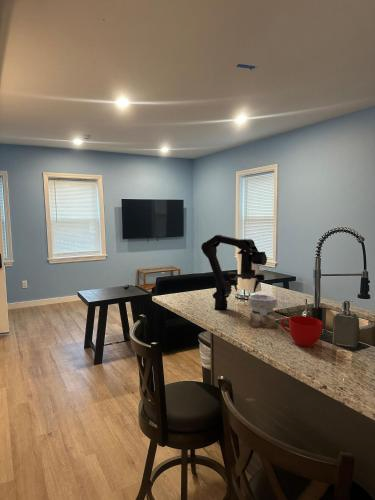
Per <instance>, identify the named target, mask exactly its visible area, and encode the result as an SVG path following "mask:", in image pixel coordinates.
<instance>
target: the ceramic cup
mask: <svg viewBox="0 0 375 500" xmlns="http://www.w3.org/2000/svg"><path fill="white" fill-rule="evenodd" d="M284 321H286V322H287V323H288V325H289V328H287V327H286V326H285V324H284ZM280 324H281V327H282V329H284V331H286V332H288V333H289V334H290V336H291V338H292V340H293V341H294V343H295V345H297V346H299V345H300V346H299V347H302V346H304V347H303V348H311V347H310V346H312V347H313V346H314V345H316V343H317V342H318V341H319V340H320V338H321V335H322V332H323V325H324V324H323V321H322V320H320V319H318V318H315V317H311V316H306V315H305V316H304V315H294V316H291V317H290V318H289V319H288V318H282V319H281V321H280Z"/></svg>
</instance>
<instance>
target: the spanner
mask: <svg viewBox="0 0 375 500" xmlns="http://www.w3.org/2000/svg"><path fill="white" fill-rule="evenodd" d="M259 314H260V320H259V322H261V323H262V320H263V318H266V317H267V314H268V313H267V309H260V313H259Z"/></svg>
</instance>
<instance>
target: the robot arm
mask: <svg viewBox="0 0 375 500" xmlns="http://www.w3.org/2000/svg"><path fill="white" fill-rule="evenodd" d="M221 243H222V244H225V245H230V246H234V247H236V248H238V249H239V251H238V252H237V254H238V255H241V258H240V259H241V260H240V262H241V263H240V273H237V272H235V271H234V272H233V271H229V272H228V273H227V279H229V280H226V278H225V277H224V273H223V270H222V268H221V264H220V262H219V259H218V256H217V252H218V251H217V250H218V247H219V246H220V244H221ZM200 249H201V250H202V253H203V254H204V256H205V257H206V258H207V259H208V262H209V264H210V265H209V266H210V268H211V271H212V274H213V277H214V279H215V290H216V291H215V292H214V293H213V294H212V298H213V299H214V309H213V310H216V311H217V310H218V311H226V310H227V309H228V300H227V298H229V297H230V295H231V293H232V292H233V291H232V288H233V287H232V285H231V283H230V281H232V283H233V285H234V289H235V292H238V285H237V284H238V283H237V278H241V280H252V279H255V280H254V285H253V294H254V293H256V291H257V288H258V285H259V284H260V283H262V282H263V281H265V275H264V273H256V269H253V265H259V266H265V265H266V264H267V261H268V257H267V254H266V251H259V250H258V248H257V246H256V244H255V242H254V240H253V239H251V238H241V239H240V238H237V237H236V238H235V237H229V236H225V235H222V234H215V235H214V236H213V237H212V238H210V239H208V240H206V241H205V242H204V241H203V243H202V244H201V246H200Z"/></svg>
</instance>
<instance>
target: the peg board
mask: <svg viewBox="0 0 375 500" xmlns="http://www.w3.org/2000/svg"><path fill="white" fill-rule="evenodd" d="M249 317H250V325H251V327H252V328H260V329H261V328H262V329H275V330H278V329H279V327H278V326H279V325H278V323H277V321H276V318H275V315H274V314H269V313H267V317H266V318H263V320H262V323H261V322H259V320H260V313H251V312H250V313H249Z"/></svg>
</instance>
